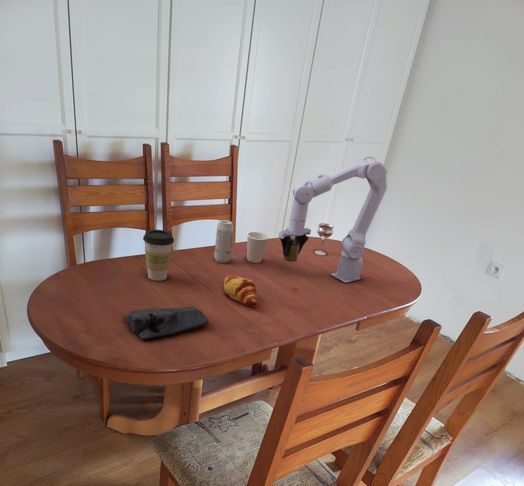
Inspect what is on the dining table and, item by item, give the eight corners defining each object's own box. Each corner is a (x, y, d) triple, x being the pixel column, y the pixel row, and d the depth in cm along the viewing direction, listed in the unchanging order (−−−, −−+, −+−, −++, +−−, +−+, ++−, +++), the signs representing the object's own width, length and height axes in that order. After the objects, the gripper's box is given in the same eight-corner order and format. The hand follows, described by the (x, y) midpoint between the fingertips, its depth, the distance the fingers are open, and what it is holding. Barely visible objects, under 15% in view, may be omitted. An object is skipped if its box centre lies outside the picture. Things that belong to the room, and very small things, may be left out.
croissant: (218, 291, 166) (209, 273, 160) (241, 277, 167) (234, 259, 162) (246, 319, 151) (238, 301, 145) (272, 303, 152) (265, 284, 147)
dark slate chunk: (214, 332, 135) (215, 318, 133) (137, 343, 125) (138, 327, 122) (194, 307, 146) (195, 293, 144) (122, 315, 136) (122, 300, 133)
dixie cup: (249, 264, 182) (253, 239, 176) (240, 256, 188) (243, 231, 182) (268, 263, 186) (272, 238, 180) (258, 255, 192) (262, 231, 186)
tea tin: (290, 255, 182) (293, 237, 178) (300, 260, 178) (303, 242, 175) (280, 257, 178) (283, 239, 175) (289, 262, 175) (293, 244, 171)
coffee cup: (136, 277, 158) (136, 233, 150) (153, 268, 166) (154, 226, 158) (161, 285, 155) (163, 242, 147) (177, 276, 163) (179, 234, 155)
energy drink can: (229, 264, 179) (233, 225, 171) (213, 262, 178) (217, 223, 170) (230, 258, 184) (234, 220, 176) (214, 256, 184) (218, 218, 176)
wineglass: (312, 248, 208) (318, 222, 201) (327, 251, 208) (333, 224, 201) (312, 254, 202) (318, 226, 196) (327, 257, 202) (334, 229, 196)
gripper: (304, 213, 177) (297, 248, 184) (275, 217, 168) (269, 253, 175) (317, 219, 173) (310, 254, 180) (288, 223, 164) (282, 260, 171)
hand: (291, 254), depth 178 cm, fingers closed on tea tin, 5 cm apart
